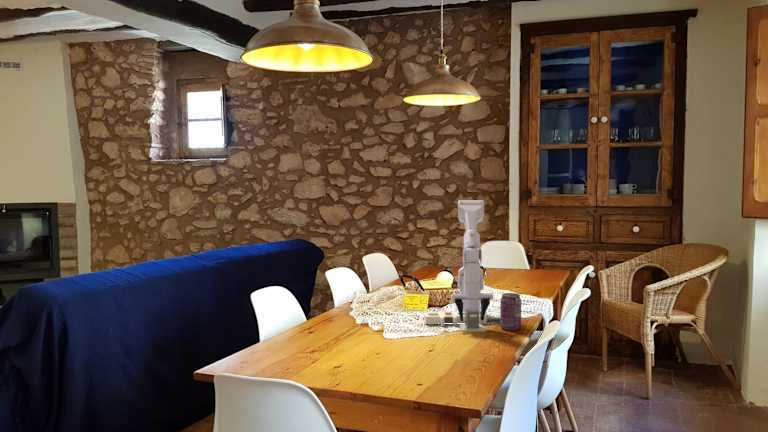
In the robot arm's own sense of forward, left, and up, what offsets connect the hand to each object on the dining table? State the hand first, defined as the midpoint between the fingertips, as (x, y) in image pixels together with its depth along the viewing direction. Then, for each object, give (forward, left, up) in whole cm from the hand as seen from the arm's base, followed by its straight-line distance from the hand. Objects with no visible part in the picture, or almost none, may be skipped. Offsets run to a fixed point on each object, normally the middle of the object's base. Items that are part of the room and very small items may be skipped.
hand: (471, 320), depth 212 cm
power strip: (-8, -1, -3) cm, 8 cm away
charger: (-1, 0, -2) cm, 3 cm away
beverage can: (+1, +14, -3) cm, 14 cm away
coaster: (0, 0, -3) cm, 3 cm away
